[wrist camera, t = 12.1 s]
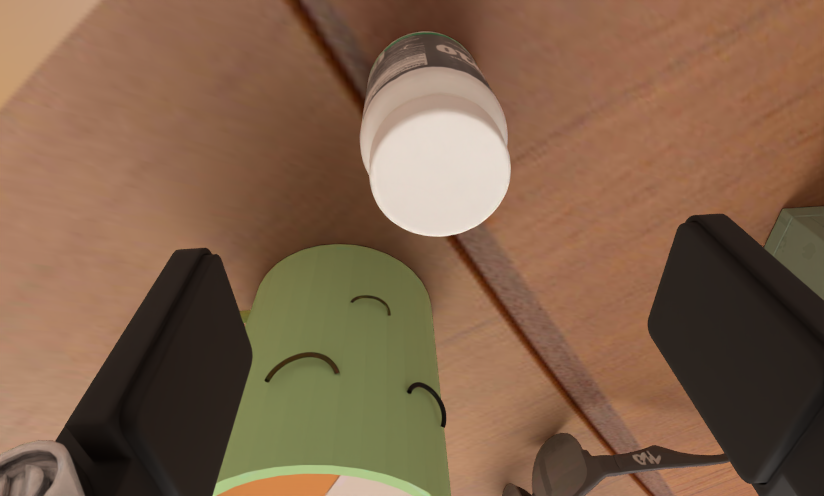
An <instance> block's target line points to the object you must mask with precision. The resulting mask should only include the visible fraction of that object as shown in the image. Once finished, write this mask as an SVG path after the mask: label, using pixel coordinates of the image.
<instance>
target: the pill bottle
mask: <svg viewBox="0 0 824 496" xmlns="http://www.w3.org/2000/svg"><path fill="white" fill-rule="evenodd" d="M507 142H508V133H507V124H506V120H505V116H504V113H503V111H502V108H501V106H500V104H499V102H498V100H497V98H496V96H495V94H494V93H493V92H492V90H491V89H490V87H489V85H488V83H487V81H486V80H485V78H484V76H483V74H482V72H481V71H480V69H479V68H478V66H477V64H476V62H475V61H474V59H473V57H472V56H471V55H470V53H469V52H468V51H467V50H466V49H465V48H464V47H463V46H462V45H461V44H460V43H458V42H457V41H456V40H454V39H452V38H450V37H448V36H446V35H444V34H440V33H436V32H430V31H422V32H415V33H411V34H407V35H405V36H402V37H400V38H398V39H397V40H395V41H394V42H392V43H391V44H390V45H388V46H387V47H386V48H385V49H384V50H383V51H382V52H381V54H380V55H379V56H378V58H377V59H376V61H375V63H374V65H373V67H372V69H371V72H370V75H369V79H368V84H367V91H366V98H365V105H364V111H363V120H362V124H361V131H360V148H361V155H362V159H363V163H364V166H365V168H366V170H367V172H368V174H369V179H370V186H371V190H372V193H373V196H374V199H375V201H376V203H377V205H378V206H379V208H380V209H381V211H382V212H383V213H384V214H385V215H386V216H387V217H388V218H389V219H390V220H391V221H392V222H393V223H395V224H397V225H398V226H400V227H401V228H403V229H405V230H407V231H410V232H413V233H416V234H420V235H424V236H435V237H442V236H450V235H455V234H459V233H462V232H465V231H467V230H469V229H471V228H474V227H475V226H477V225H479V224H480V223H482V222H483V221H484V220H486V219H487V218H488V217H489V216H490V215H491V214H492V213H493V212H494V211H495V210H496V208H497V207H498V206H499V204H500V203H501V201H502V199H503V198H504V196H505V194H506V192H507V188H508V185H509V182H510V174H511V164H510V156H509V152H508V149H507Z"/></svg>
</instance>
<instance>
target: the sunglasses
mask: <svg viewBox="0 0 824 496" xmlns="http://www.w3.org/2000/svg"><path fill="white" fill-rule="evenodd" d="M727 462H730V461H729V459H728V458H727V456H726V454H725V453H724V454H721V455H693V454H687V453H680V452H677V451H673V450H670V449H666V448H663V447H660V446H656V445H653V446H650V447H648V448H645V449H642V450H639V451H635V452H630V453H626V454H618V455H613V456H610V455H599V456H591V455H590V454H589V452H588V451H587V450H583V449H582V447H581V445H580V444H579V442H578V441H577V439H575V438H574V437H573V436H572V435H570V434H568V433H560V434H556V435H554V436H552V437H551V438H549V439H548V440H547V441H546V442H545V443H544V444H543V445H542V447H541V448H540V450H539V452H538V454H537V456H536V459H535V462H534V467H533V473H532V492H533V494H532V495H531V494H529V493H528V492H527V491H525V490H524V489H522V488H520V487H517V486H515V485H513V484H508V485H507V486H506V487H505V489H504V491H503V494H502V496H585V495H586V494H587V493H588V492H589V491H590V490H592V489H593V488H594V487H595V486H596V485H597V484H598V483H599V482H600V481H601V480H603V479H604V478H605V477H609V476H618V475H623V474H628V473H636V472H645V471H653V470H661V469H670V468H684V467H697V466H708V465H716V464H723V463H727Z"/></svg>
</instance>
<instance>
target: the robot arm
mask: <svg viewBox="0 0 824 496" xmlns="http://www.w3.org/2000/svg"><path fill="white" fill-rule="evenodd" d="M648 330H649V334H650V336H651V338H652V339H653V341H654V342H655V344H656V346H657V347H658V349H659V350H660V352H661V353H662V355H663V357H664V358H665V360H666V361H667V363H668V364H669V366H670V368H671V369H672V371H673V372H674V374H675V376H676V377H677V379H678V380H679V382H680V383H681V385H682V387H683V388H684V390H685V391H686V393H687V394H688V396H689V398H690V399H691V401H692V402H693V404H694V405H695V407H696V409H697V410H698V412H699V413H700V415H701V417H702V418H703V420H704V421H705V423H706V424H707V426H708V428H709V429H710V431H711V432H712V434H713V435H714V437H715V439H716V440H717V442H718V443H719V445H720V446H721V448H722V450H723V451H724V453H725V454H726V456H727V458H728V459H729V461H730V462H731V464H732V465H733V467H734V469H735V470H736V472H737V473H738V475H739V476H740V477H741V479H743V480H744V481H745V482H747V483H749V484H752V486H753V487H754V489H755V490H756V492H757V493H758V495H759V496H824V300H823V299H822V298H820V297H819V296H818V295H817V294H816V293H815V292H814V291H812V290H811V289H810V288H809V287H808V286H807V285H806V284H804V283H803V282H802V281H801V280H800V279H799V278H798V277H796V276H795V275H794V274H793V273H792V272H791V271H790V270H788V269H787V268H786V267H785V266H784V265H783V264H782V263H780V262H779V261H778V260H777V259H776V258H775V257H774V256H772V255H771V254H770V253H769V252H768V251H767V250H766V249H764V248H763V247H762V246H761V245H760V244H759V243H757V242H756V241H755V240H754V239H753V238H752V237H751V236H749V235H748V234H747V233H746V232H745V231H744V230H743V229H741V228H740V227H739V226H738V225H737V224H736V223H735V222H733V221H732V220H731V219H730V218H729V217H728V216H726V215H724V214H707V215H693V216H691V217H689V218H688V219H687V220H686V222H685V223H683V224H681V225H680V226H679V227H678V229H677V232H676V235H675V238H674V241H673V244H672V247H671V250H670V253H669V256H668V259H667V263H666V266H665V269H664V272H663V275H662V278H661V281H660V284H659V287H658V290H657V293H656V297H655V300H654V303H653V306H652V309H651V312H650V315H649V318H648ZM252 358H253V353H252V347H251V344H250V341H249V338H248V335H247V332H246V329H245V326H244V323H243V321H242V318H241V315H240V312H239V309H238V306H237V303H236V300H235V297H234V295H233V292H232V289H231V286H230V283H229V280H228V277H227V274H226V271H225V269H224V266H223V263H222V260H221V258H220V256H219V255H217V254H214V255H212V253H211V252H210V251H209V249H207V248H196V249H181V250H176V251H175V252H174V253H173V254H172V256H171V258H170V259H169V261H168V262H167V264H166V265H165V267H164V269H163V270H162V272H161V273H160V275H159V277H158V278H157V280H156V281H155V283H154V285H153V286H152V288H151V289H150V291H149V292H148V294H147V296H146V297H145V299H144V300H143V302H142V304H141V305H140V307H139V308H138V310H137V312H136V313H135V315H134V316H133V318H132V320H131V321H130V323H129V324H128V326H127V327H126V329H125V331H124V332H123V334H122V335H121V337H120V339H119V340H118V342H117V343H116V345H115V347H114V348H113V350H112V351H111V353H110V354H109V356H108V358H107V359H106V361H105V362H104V364H103V366H102V367H101V369H100V370H99V372H98V374H97V375H96V377H95V378H94V380H93V381H92V383H91V385H90V386H89V388H88V389H87V391H86V393H85V394H84V396H83V397H82V399H81V401H80V402H79V404H78V405H77V407H76V408H75V410H74V412H73V413H72V415H71V416H70V418H69V420H68V421H67V423H66V424H65V427H64V428H63V430H62V431H61V433H60V435H59V436H58V438H57V439H56V441H53V440H38V441H34V442H30V443H26V444H22V445H19V446H17V447H15V448H13V449H10V450H8V451H6V452H4V453H2V454H0V496H213V493H214V489H215V486H216V482H217V479H218V476H219V472H220V469H221V466H222V462H223V459H224V456H225V452H226V449H227V445H228V442H229V439H230V435H231V432H232V429H233V425H234V422H235V419H236V415H237V412H238V409H239V405H240V402H241V398H242V395H243V392H244V388H245V385H246V382H247V378H248V375H249V372H250V368H251V365H252Z"/></svg>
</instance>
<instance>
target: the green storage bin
mask: <svg viewBox="0 0 824 496" xmlns="http://www.w3.org/2000/svg"><path fill="white" fill-rule="evenodd" d="M764 249H766V250H767V251H768V252H769V253H770V254H771V255H772V256H774V257H775V258H776V259H777V260H778V261H779V262H780V263H782V264H783V265H784V266H785V267H786V268H787V269H788V270H790V271H791V272H792V273H793V274H794V275H795V276H796V277H798V278H799V279H800V280H801V281H802V282H803V283H804V284H806V285H807V286H808V287H809V288H810V289H811V290H812V291H814V292H815V293H816V294H817V295H818V296H819V297H820V298H822V299H823V300H824V206H819V207H802V208H786V209H782V211H781V213H780V215H779V217H778V219H777V221H776V223H775V225H774V228H773V230H772V232H771V234H770V236H769V238H768V240H767V242H766V244H765V246H764Z"/></svg>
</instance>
